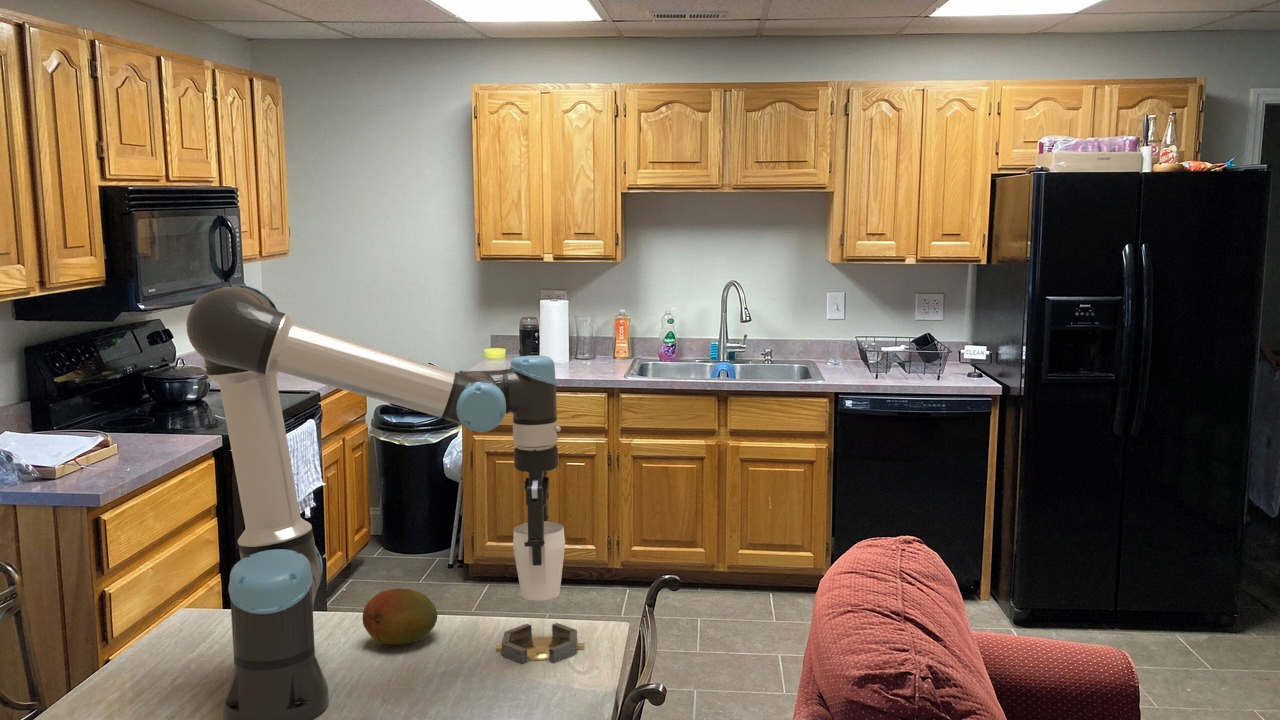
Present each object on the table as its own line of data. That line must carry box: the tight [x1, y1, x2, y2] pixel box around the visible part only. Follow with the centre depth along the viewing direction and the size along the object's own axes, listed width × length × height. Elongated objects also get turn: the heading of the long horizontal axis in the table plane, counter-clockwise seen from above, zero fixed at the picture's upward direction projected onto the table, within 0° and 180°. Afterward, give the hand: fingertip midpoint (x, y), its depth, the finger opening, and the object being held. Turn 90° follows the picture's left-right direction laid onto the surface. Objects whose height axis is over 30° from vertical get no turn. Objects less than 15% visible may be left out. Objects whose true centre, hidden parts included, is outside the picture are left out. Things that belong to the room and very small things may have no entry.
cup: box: [512, 521, 566, 602], centre depth 176 cm, size 9×9×12 cm
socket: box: [495, 622, 585, 665], centre depth 177 cm, size 15×13×2 cm
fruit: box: [362, 588, 438, 646], centre depth 181 cm, size 12×13×10 cm
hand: (539, 572), depth 176 cm, fingers closed on cup, 9 cm apart
